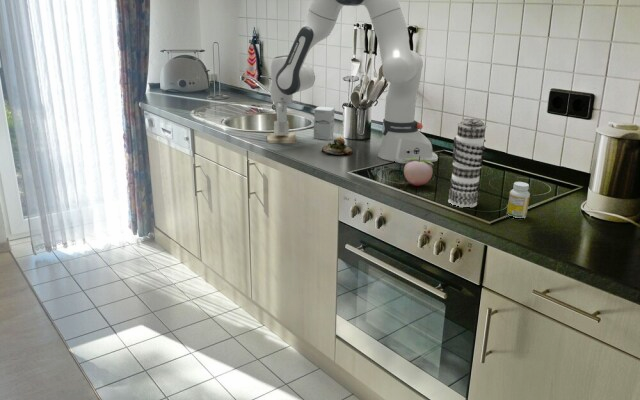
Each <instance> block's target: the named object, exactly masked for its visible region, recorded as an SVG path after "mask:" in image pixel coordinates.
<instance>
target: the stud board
mask: <svg viewBox="0 0 640 400" xmlns="http://www.w3.org/2000/svg"><path fill="white" fill-rule="evenodd" d="M266 143H267V144H297V143H298V140H297V137H296V133H290V132H289V135H275V134H274V132H273V133H271V132H270V133H268V132H267V133H266Z"/></svg>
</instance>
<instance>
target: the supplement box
mask: <svg viewBox="0 0 640 400" xmlns="http://www.w3.org/2000/svg"><path fill="white" fill-rule="evenodd" d="M335 110H336V109H335V107H328V106H317V107H316V108H314V116H313V118H314V119H313V139H318V140H319V139H320V140H327V141H330V140H331V139H332V138H333V137H334V128H335V127H334V126H335Z"/></svg>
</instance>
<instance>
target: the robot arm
mask: <svg viewBox="0 0 640 400" xmlns="http://www.w3.org/2000/svg"><path fill="white" fill-rule="evenodd" d="M344 6H346V7H348V6H352V7H359V6H364V7H365V8H366V10H367V12H368V15H369V17H370V20H371V23H372V27H373V29H374V30H373V31H374V33H375V36H376V38H377V39H376V40H377V43H378V48H379V54H380V58H381V59H380V60H381V64H382V68H381V69H382V70H381V71H382V75H383V78H384V79H385V80H386V81H387V82H388V83H389V86H388V91H387V93H386V94H387V95H386V97H385V105H384V106H385V107H384V109H385V110H384V118H383V119H382V120H383V121H382V129H381V133H382V138H381V144H380V147H379V151H378V153H377V157H378V158H379V159H383V160H384V161H391V162H394V161H395V163H398V164H406V163H407V162H409V161H406V162H404V161H405V160H407V159H410V158H415V159H418V160H419V156H420V160H428V161H430V162H432V163H433V162H438V159H439V157H438V155H437V154H436V153H435V152H434V151H433V145H432V143H431V141H430V139H429V138H428V137H426V136H425V135H424V134H423V133H421V132H420V131H419V130H422V129H423V128H424V125H423V124H422V123H421V122H418V121H417V120H415V117H416V116H415V115H416V108H417V107H416V104H417V97H418V91H419V88H420V82H421V77H422V70H423V66H424V65H423V59H422V57H421V55H420V54H419V53H418V52H416V51H414V50H411V45H410V40H409V32H408V31H409V29H408V26H407V23H406V21H405V18H404V15H403V10H402V9H401V6H400V3H399V0H311V3H310V6H309V8H308V11H307V14H306V17H305V19H304V21H303V23H302V26H301V27H300V30H299V31H298V33H297V35H296V37H295V39H294V42H293V44H292V46H291V49H290V51H289V53H288V54H287V55H280V56H275V57H273V58H272V61H271V65H270V79H271V80H270V81H271V87H270V101H272V102H273V105H274V106H275V110H276V118H277V120H278V123H279V126H280V132H284V125H285V124H286V123H287V121H288V117H287V116H288V106H290V103H291V102H293V99H294V97H293V95H294V94H296V93H299V92H302V91H305V90H308V89H310V88H312V87H313V86H314V84H315V80H316V75H315V72H314V70H313V69H312V67H310V66H308V65H305V64H304V63H305V60H306V58H307V56H308V54H309V52H310V50H311V49H312V48H313V47H314V46H315V45H317V44H318V43H319V42H322V41H323V40H325V39H327V38H328V37H329V36H330V35H331V33H332V31H333V30H334V28H335V25H336V24H337V20H338V17H339V15H340V12H341V10H342V8H343V7H344ZM277 120H276V121H277Z"/></svg>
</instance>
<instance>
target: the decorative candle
mask: <svg viewBox="0 0 640 400" xmlns="http://www.w3.org/2000/svg"><path fill="white" fill-rule="evenodd" d="M487 127H488V126H487V125H485V123H484V121H483V120H482V119H478V118H464V119H462V120H461V121H460V123H458V124H457V133H456V136H454V138H453V141H454V142H453V144H452V146H453V150H452V156H451V158H452V163H451V164H452V166H453V168H452V173H451V178H450V180H449V181H450V184H449V187H450V189H448V193H449V194H448V200H447V202H448V204H449V203H451V204H452V205H451V204H450V205H451V206H453V205H456V206H455V207H457V206H459V207H458V208H463V207H470V208H474V207H477V205H478V200H479V198H478V197H479V195H480V194H479V190H480V185H481V182H480V173H481V169H482V168H483V161H484V158H483V157H482V156H484V155H485V154H486V152H485V150H486V146H485V145H484V143H486V139H485V132H486V128H487Z"/></svg>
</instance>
